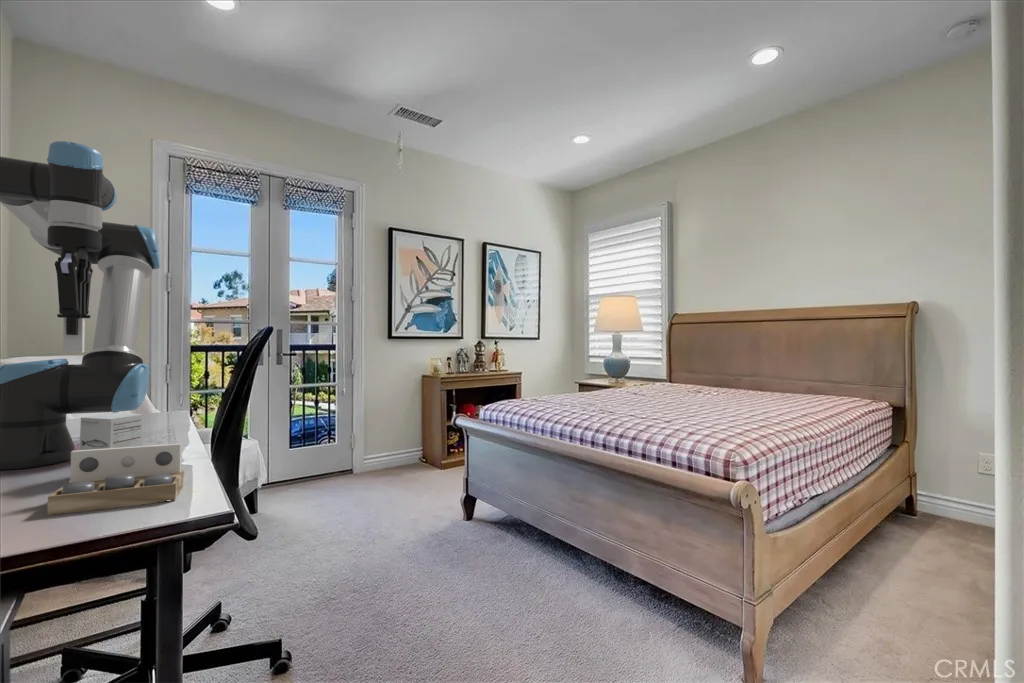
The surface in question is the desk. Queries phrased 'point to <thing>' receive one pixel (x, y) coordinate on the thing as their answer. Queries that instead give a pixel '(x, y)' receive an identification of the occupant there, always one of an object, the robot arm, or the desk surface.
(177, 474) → the button board
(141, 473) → the card
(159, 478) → the button
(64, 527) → the desk surface
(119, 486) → the button
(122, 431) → the supplement box
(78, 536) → the desk surface
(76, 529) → the desk surface
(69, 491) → the button
